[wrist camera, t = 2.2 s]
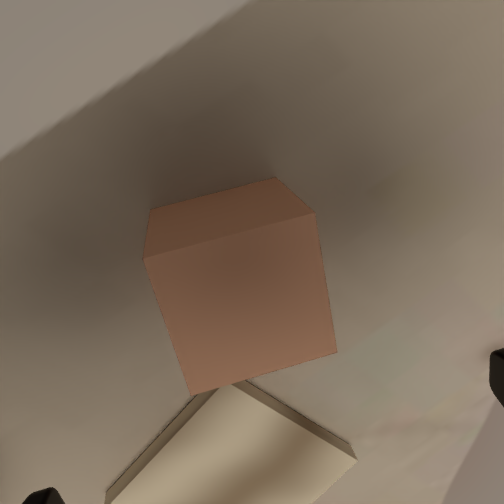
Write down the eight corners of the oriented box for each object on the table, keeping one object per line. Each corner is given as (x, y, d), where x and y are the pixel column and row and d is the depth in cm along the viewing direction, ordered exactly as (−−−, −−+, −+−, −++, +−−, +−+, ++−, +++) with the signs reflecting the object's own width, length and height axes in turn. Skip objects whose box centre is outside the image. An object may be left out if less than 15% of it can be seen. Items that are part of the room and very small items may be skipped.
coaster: (106, 492, 21) (103, 511, 20) (222, 367, 19) (225, 381, 18) (241, 548, 24) (244, 567, 23) (350, 445, 23) (358, 460, 22)
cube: (185, 317, 18) (190, 396, 14) (150, 209, 16) (142, 258, 12) (296, 286, 19) (337, 352, 14) (275, 176, 17) (314, 212, 12)
